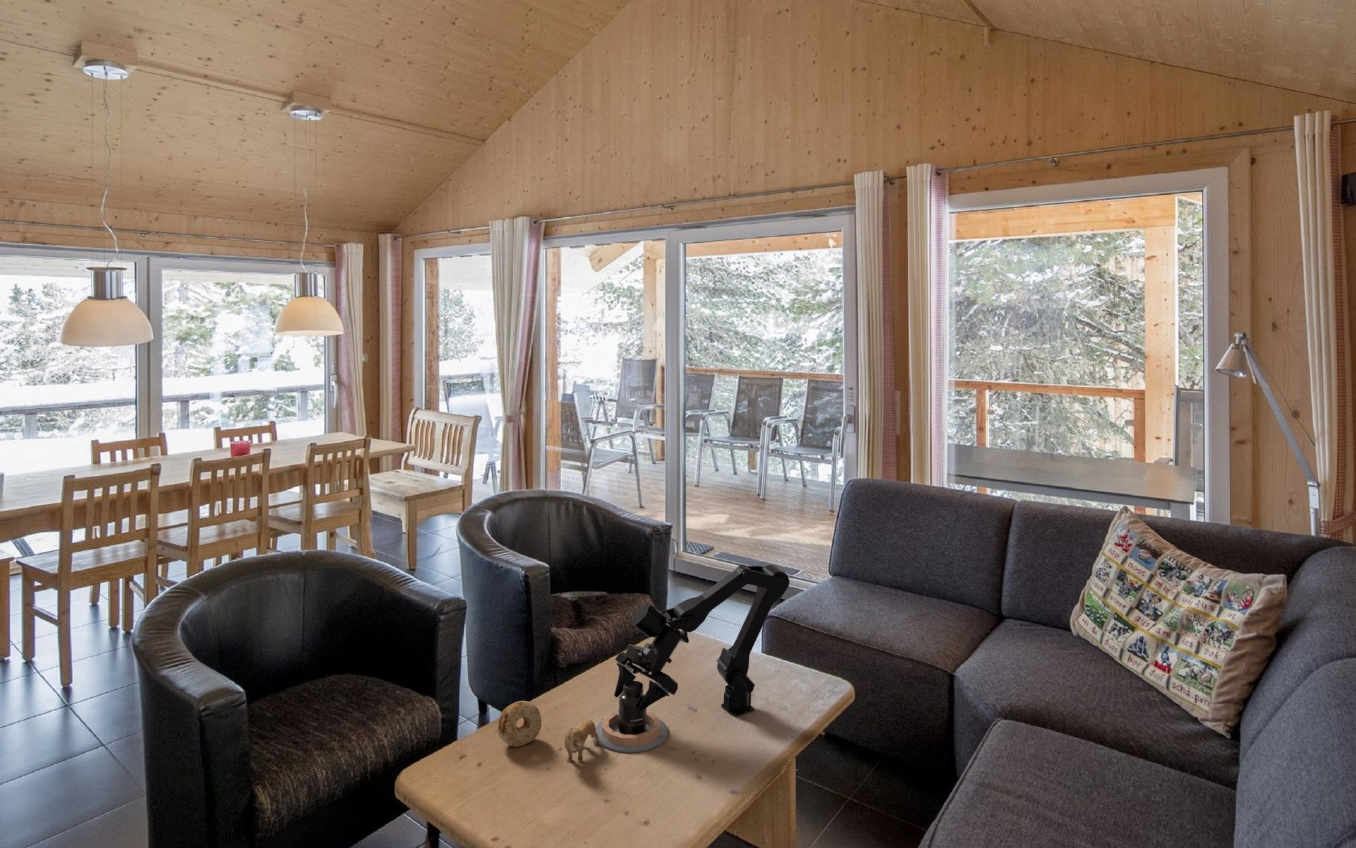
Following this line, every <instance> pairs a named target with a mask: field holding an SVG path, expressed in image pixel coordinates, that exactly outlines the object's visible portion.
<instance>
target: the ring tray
mask: <svg viewBox="0 0 1356 848" xmlns="http://www.w3.org/2000/svg"><path fill="white" fill-rule="evenodd" d="M618 721H619V710H618V711H613V712H610V713H609V714H608V715H607V716H606V717H604V718H603V719H602V720H601V721H599V722H598V723H597V725H595V728H596V733H597V734H598V736H599V744H598V745H600V746H602V748H605V749H607V750H610V751H612V752H617V753H624V754H626V753H627V754H633V753H634V754H635V753H636V754H637V753H643V752H648V751H650V750H654V749H655V748H657V747H660V746H661V745H662V744H663V743H664V742H665V741H666V740H667V739H668V735H669V729H668V726H667V725H666V723H665V722H664V721H663V720H662V719H660V718H659V717H658V716H657V715H655V714H654V713H653V712H650V711H647V714H646V731H645V732H644V733H641V734H638V735H624V734H620V732H619V730H618Z"/></svg>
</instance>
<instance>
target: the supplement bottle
mask: <svg viewBox="0 0 1356 848" xmlns="http://www.w3.org/2000/svg"><path fill="white" fill-rule="evenodd" d="M645 694H646V693H644V684H643V682H641V681H639V680H633V681H628V682H625V683H624V686H623V693H622V694H621V695H620V696H619V697H618V711H619V721H618V730H619V732H620V734H624V735H638V734H641V733H644V732H645V731H646V714H647V712H648V711H647V709H648V707H647V708H645V709H644V710H642V711H639V710H638V707H639V704H640V702H641V701H642V699H643V697H644V696H645Z"/></svg>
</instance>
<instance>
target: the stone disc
mask: <svg viewBox="0 0 1356 848" xmlns="http://www.w3.org/2000/svg"><path fill="white" fill-rule="evenodd" d="M541 716H542V715H541V712H540V709H539V708H538V707H537V705H536V704H534V703H533V702H530V701H527V700H519V701H516V702H513V703H511V704H509V705H508V706H507V707H505V708H504V709H503V710H502V712H501V713H500V716H499V718H498V728H497V729H498V735H499V738H500V739H501V741H503V743H505V744H507V745H508V746H510V747H521V746H524V745H527V744H529V743H532V741H535V739H536V738H537V736H539V734H540V732H541V729H542V717H541ZM521 719H523V722H522V724H521V725H520V726H517V723H518V721H520V720H521Z"/></svg>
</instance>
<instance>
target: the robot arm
mask: <svg viewBox="0 0 1356 848" xmlns="http://www.w3.org/2000/svg"><path fill="white" fill-rule="evenodd" d="M790 583H791V581H790V577H789V576H788V574H787V573H786V572H785V571H783V570H782V569H780V568H779V567H778V566H776V565H775V564H768V565H765V566H762V565H746V564H740V565H738V566H737V567H736V568H735V569H734V570H733V571H731V572H730V573H729V574H728V575H726V576H724V577H723V578H722V579H720V580H719V581H718V582H716V583H715V584H714V585H712V586H711V587H709V588H708V589H706V590H705V591H704V592H702V593H701V594H700V595H698V596H694V597H690V598H687V599H685V600H683V601H681V602H679V603H677V604H676V605H675V606H674V607H671V608H668V609H664V610H659V609H658V608H656V607H655V606H654V604H652V603H651V602H647V604H646V605H643V606H641V607H640V608H639V609H637V610H636V611H635V613H634V614H633V616H632V618H631V621H630V623H631V625H632V626H633V627H634V628H636V629H637V630H638V631H639V632H641V633H642V634H644V636H646V637H647V638H653V640H652V642H651V644H650V643H648V642H647V643H645V644H644V646H640V645H635V644H631V643H629V644H628V645H627V648H626V651H622V652H619V653H618V654H617V655H616V657H615V662H616V666H617V667H618V672H619V674H618V678H617V682H616V686H615V690H614V694H613V696H614V697H615V698H619V697H620V696H621V694H622V693H623V686H624V683H625V682H628V681H635V680H636V679H637V676H636V675H637V674H638V673H639V674H641V675H643V676H644V677H646V678H648V679H649V683H648V689H647V691H646V693H644V694H645V696H644V697H643V699H642V701H641V702H640V704H639V707H638V710H639V711H642V710H644V709H645V708H647V709H648V707H650V706H651V705H653V704H654V703H656V702H658V701H659V700H661V699H663V698H665V697H669V696H670V695H672V696H675V694H676V693H677V691H678V689H679V683H678V682H676V680H675V679H673V678H672V677H671V676H670V675H669V674H666V672H663V670H664V667H665V666H666V665H667V663H668V664H671V663H672V661H673V660H672V659H671V656H672V655H673V653H674V652H675V650H676V649H677V647H678V646H679V643H680V642H682V643H686V644H689V643H690V639H689V636H688V633H692V632H694V631H696V630H697V629H698V628H699V627H700V626H701V625H702V624H703V623H704V622H705V620H706V619H707V617H708V615H709V614H710V613H711V612H712V611H713V610H714V609H716V608H717V607H718V606H720V605H721V604H722V603H723V602H725V601H727V600H728V599H730V598H731V597H732V596H733V595H735V594H736V593H737V592H739V591H740V590H742V588H744V587H745V586H747V585H751V586H755V587H756V593H755V598H754V600H753V601H752V604H751V606H750V608H749V610H748V613H747V615H746V617H745V619H744V621H743V623H742V626H741V627H740V628H741V629H739V632H738V634H737V636H736V638H735V641H734V643H733V645H732V646H730V647H729V648H725V647H723V648H722V649H721V652H720V654H719V655H720V656H719V657H718V658H717V659H716V662H717V664H716V669H717V672H718V673H719V675H720V676H721V677H722V679H723V681H725V683H726V684H727V685H725V687H724V692H723V703H721V705H720V706H721V708H723V709H724V710H725V711H727V712H728V713H730V714H731V715H733V716H734V717H737V716H741V715H744V714H746V713H750V712H753V711H755V707H754V706H752V693H753V691H754V689H755V686H756V684H755V683H754V681H752V680H751V679H750V677H749V676H748V673H749V669H750V668H749V667H750V655H751V653H752V650H753V647H754V646H755V643H756V641H757V639H758V637H759V635H760V633H761V630H762V629H763V627H764V624H765V623H766V619H767V618H768V615H769V613H770V611H771V609H772V607H773V606H774V604H776V603H777V602H778V601H779V600H781V598H782V597H783V595H784V594H785V593H786V591H787V590H788V588H789V586H790ZM650 673H651V674H650Z"/></svg>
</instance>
